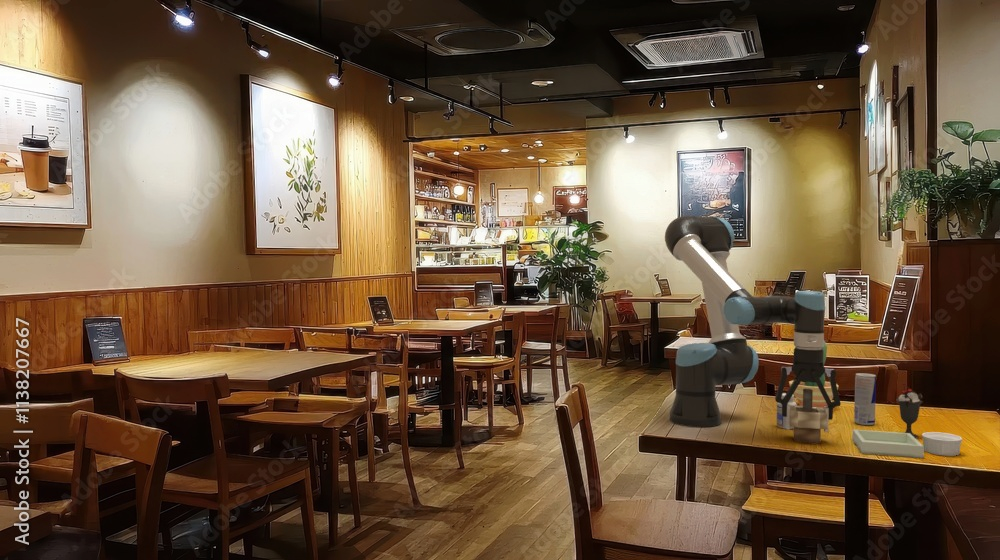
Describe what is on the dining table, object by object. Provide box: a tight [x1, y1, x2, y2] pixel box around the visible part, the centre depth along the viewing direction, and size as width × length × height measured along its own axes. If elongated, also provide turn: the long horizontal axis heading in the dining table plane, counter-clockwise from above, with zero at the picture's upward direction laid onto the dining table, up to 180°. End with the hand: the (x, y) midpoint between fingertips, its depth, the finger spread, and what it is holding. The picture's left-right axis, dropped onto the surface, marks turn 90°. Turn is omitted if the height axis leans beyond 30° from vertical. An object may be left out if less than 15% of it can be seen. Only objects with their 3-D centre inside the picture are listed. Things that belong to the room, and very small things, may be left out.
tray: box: [852, 429, 925, 459], centre depth 191 cm, size 14×14×3 cm
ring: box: [790, 405, 827, 430], centre depth 200 cm, size 9×9×4 cm
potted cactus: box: [788, 340, 840, 409], centre depth 243 cm, size 16×15×25 cm
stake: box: [793, 389, 822, 445], centre depth 199 cm, size 7×7×14 cm
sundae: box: [895, 383, 923, 439], centre depth 205 cm, size 7×7×15 cm
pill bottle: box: [776, 392, 798, 430], centre depth 215 cm, size 5×5×10 cm
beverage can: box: [853, 372, 877, 426], centre depth 220 cm, size 6×6×15 cm
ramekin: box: [921, 431, 963, 457], centre depth 188 cm, size 9×9×4 cm
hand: (806, 429), depth 200 cm, fingers closed on ring, 9 cm apart
